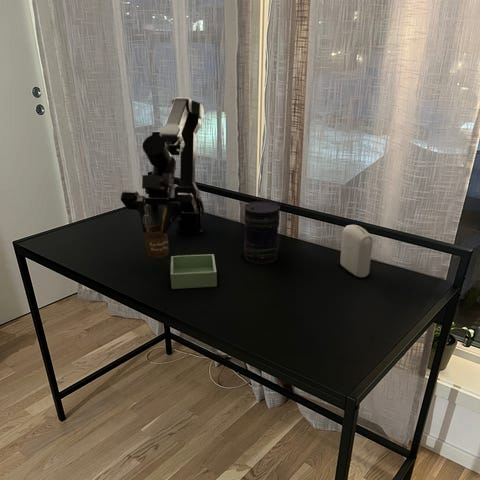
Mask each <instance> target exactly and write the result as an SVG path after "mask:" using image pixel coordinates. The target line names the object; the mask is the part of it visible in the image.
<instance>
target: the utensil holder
mask: <svg viewBox="0 0 480 480" xmlns="http://www.w3.org/2000/svg"><path fill="white" fill-rule="evenodd" d="M166 212H167V207H165V206H164V207H163V211H162V218H161V219H162V224H161V225H154V221H153V219H152V216H150V214H149V216H148V215H147V216H148V217H149V218H150V219H148V226H147V225H146V226H147V228H146V227H145V228H146V232H144V233H145V236H144V244H145V252H146V255H147V256H148V257H149V258H152V259H160V258H164V257H167V256H168V255H169V253H170V246H169V238H168V235H167V232H166V233H163V226H164V221H165V217H166ZM144 216H145V215H144ZM144 216H143V217H144ZM145 218H146V217H145ZM143 221H144V220H143ZM143 223H144V222H143ZM151 224H152V225H151Z"/></svg>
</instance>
